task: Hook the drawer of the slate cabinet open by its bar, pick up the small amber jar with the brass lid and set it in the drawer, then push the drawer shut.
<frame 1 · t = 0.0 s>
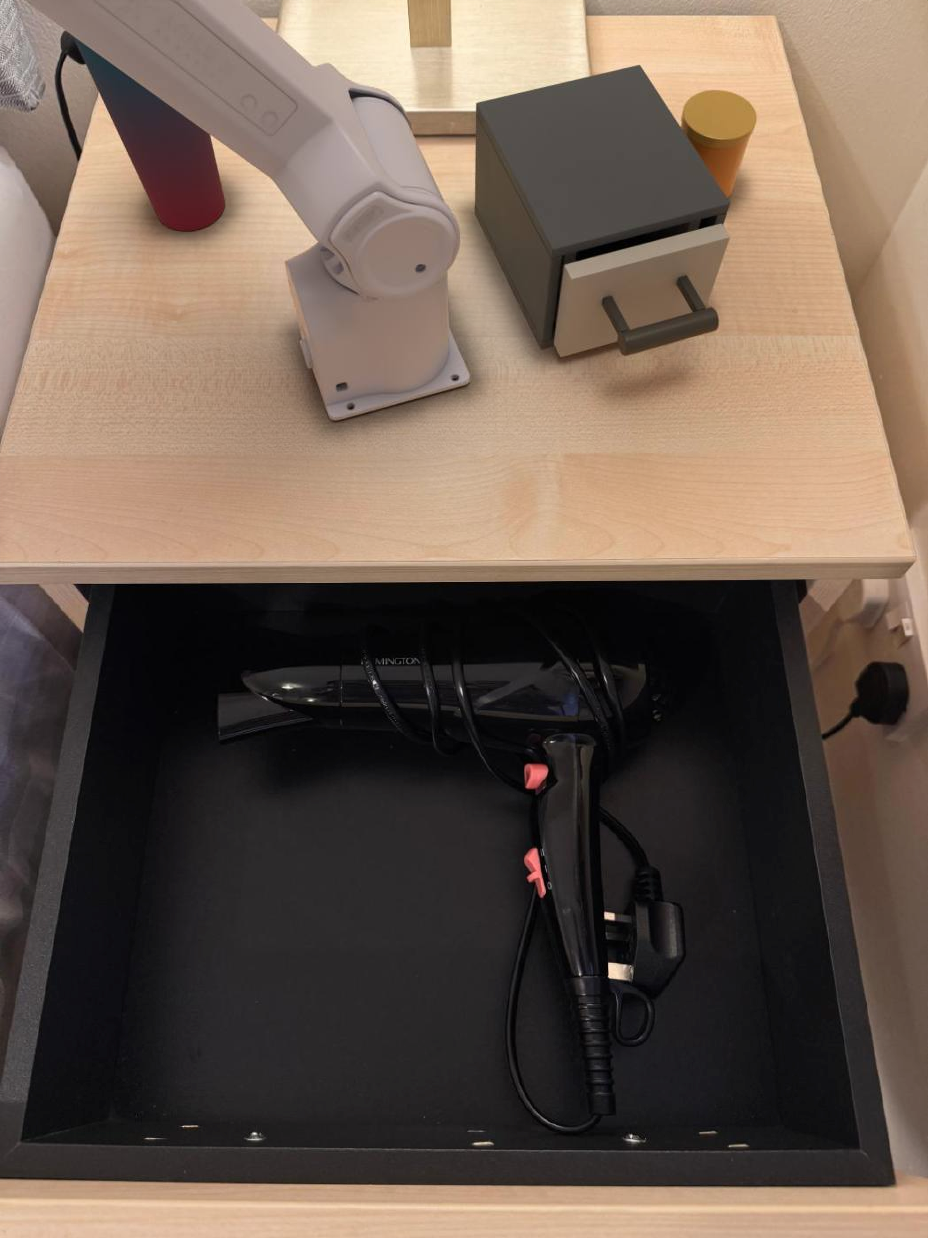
drawer: (615, 253, 56), point 4 cm above the nightstand, slide at 0.5 cm
cup: (191, 208, 64), on the nightstand
cabinet: (582, 257, 62), on the nightstand
jar: (700, 183, 65), on the nightstand
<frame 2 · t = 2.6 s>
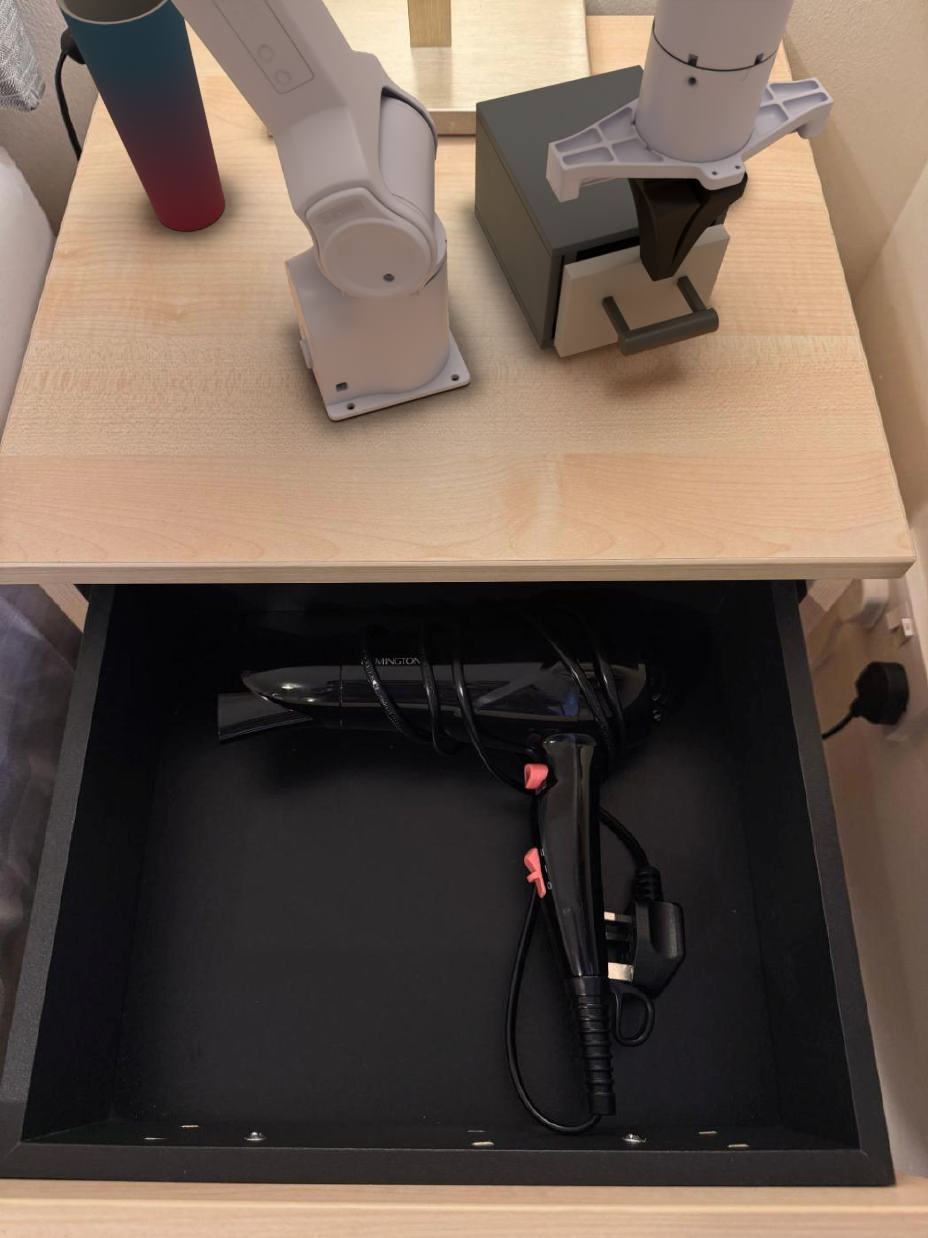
hand: (657, 266, 51), 7 cm above the nightstand, tool pointing down, fingers closed, pressing on drawer
drawer: (616, 253, 56), point 4 cm above the nightstand, slide at 0.5 cm, touching gripper
everything else where it was.
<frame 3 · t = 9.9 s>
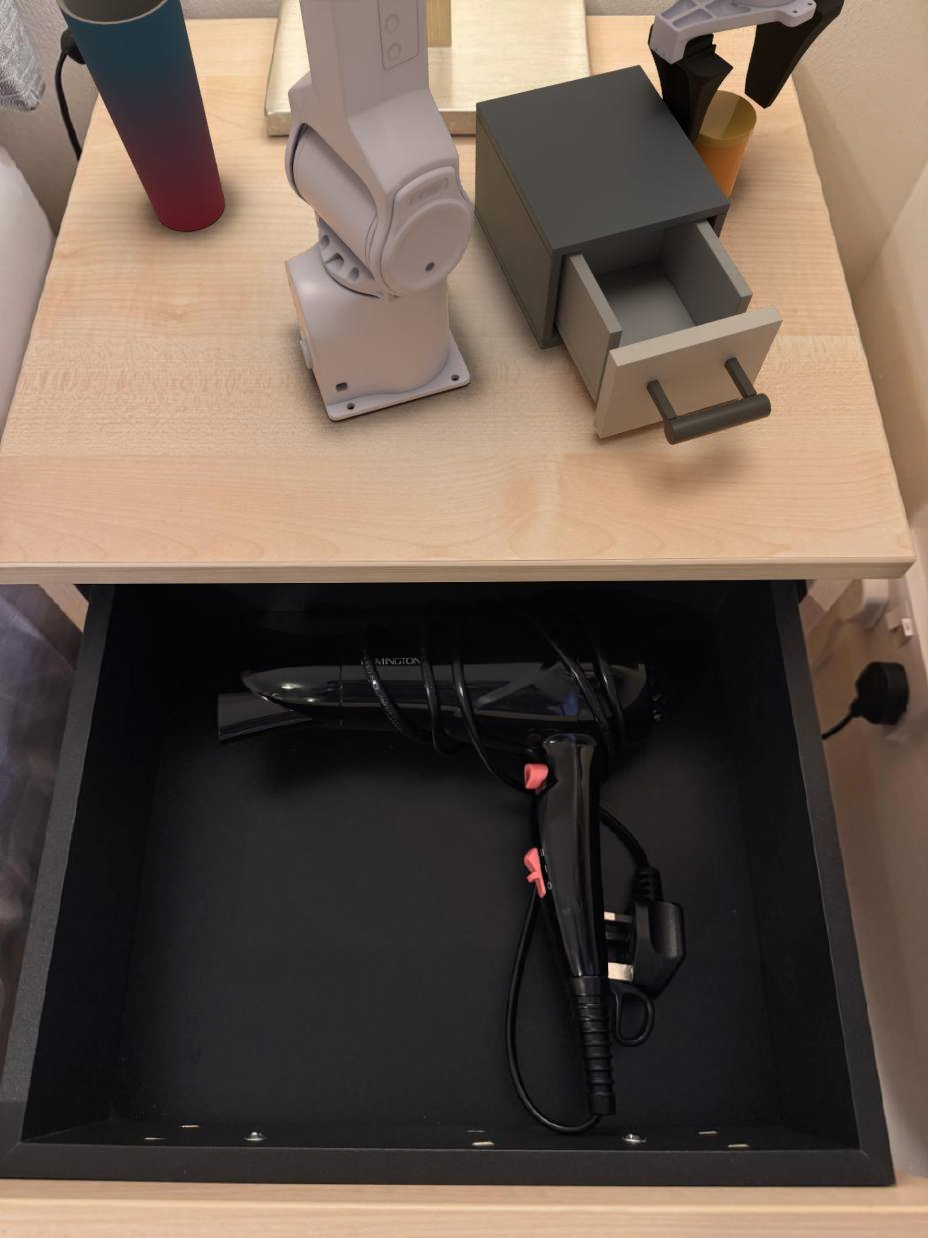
hand: (718, 121, 60), 5 cm above the nightstand, tool pointing down, fingers open, 7 cm apart
drawer: (659, 331, 54), point 4 cm above the nightstand, slide at 7.2 cm
everything else where it was.
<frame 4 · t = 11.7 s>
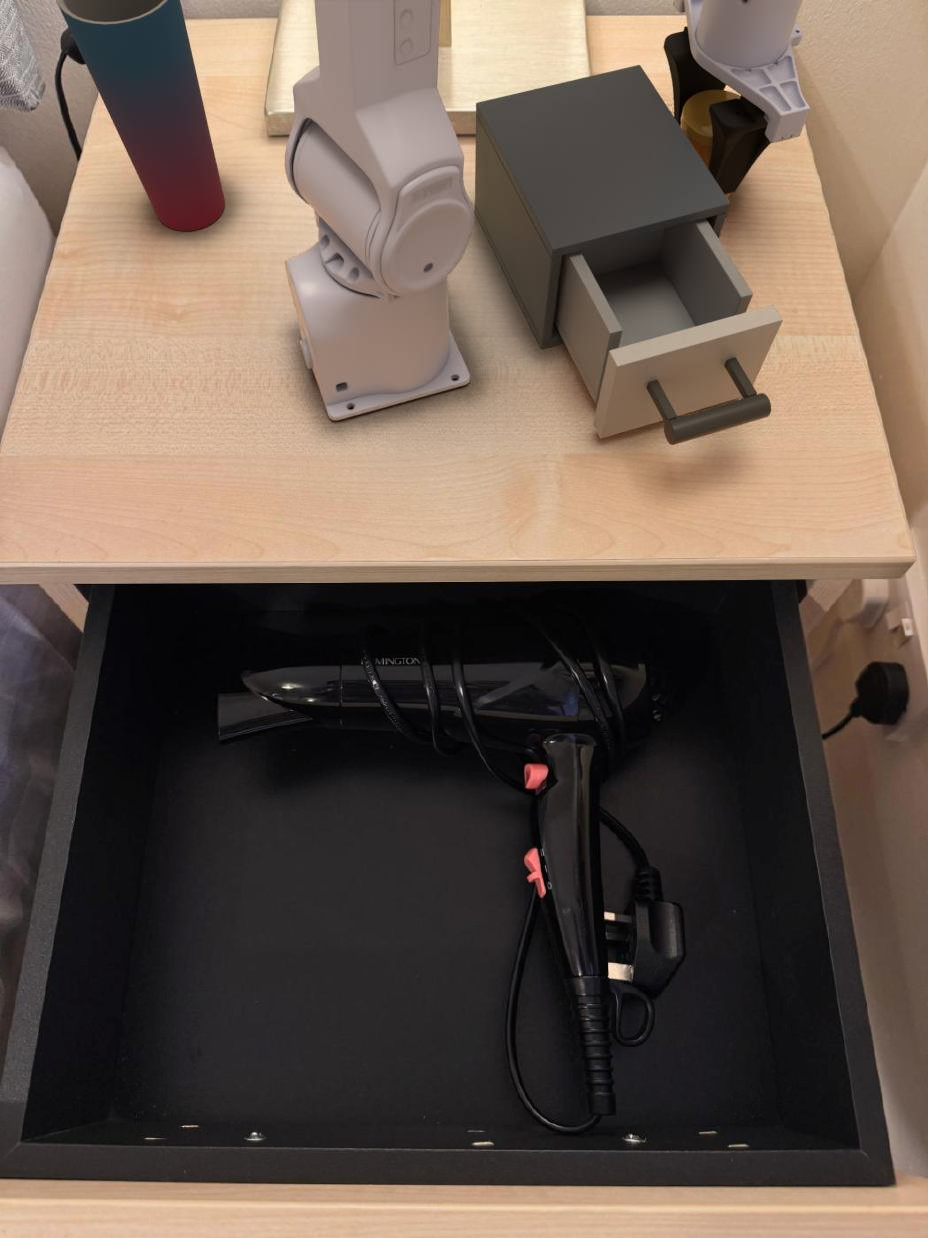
hand: (705, 166, 63), 1 cm above the nightstand, tool pointing down, fingers closed on jar, 5 cm apart
jar: (699, 183, 65), on the nightstand, touching gripper
everything else where it was.
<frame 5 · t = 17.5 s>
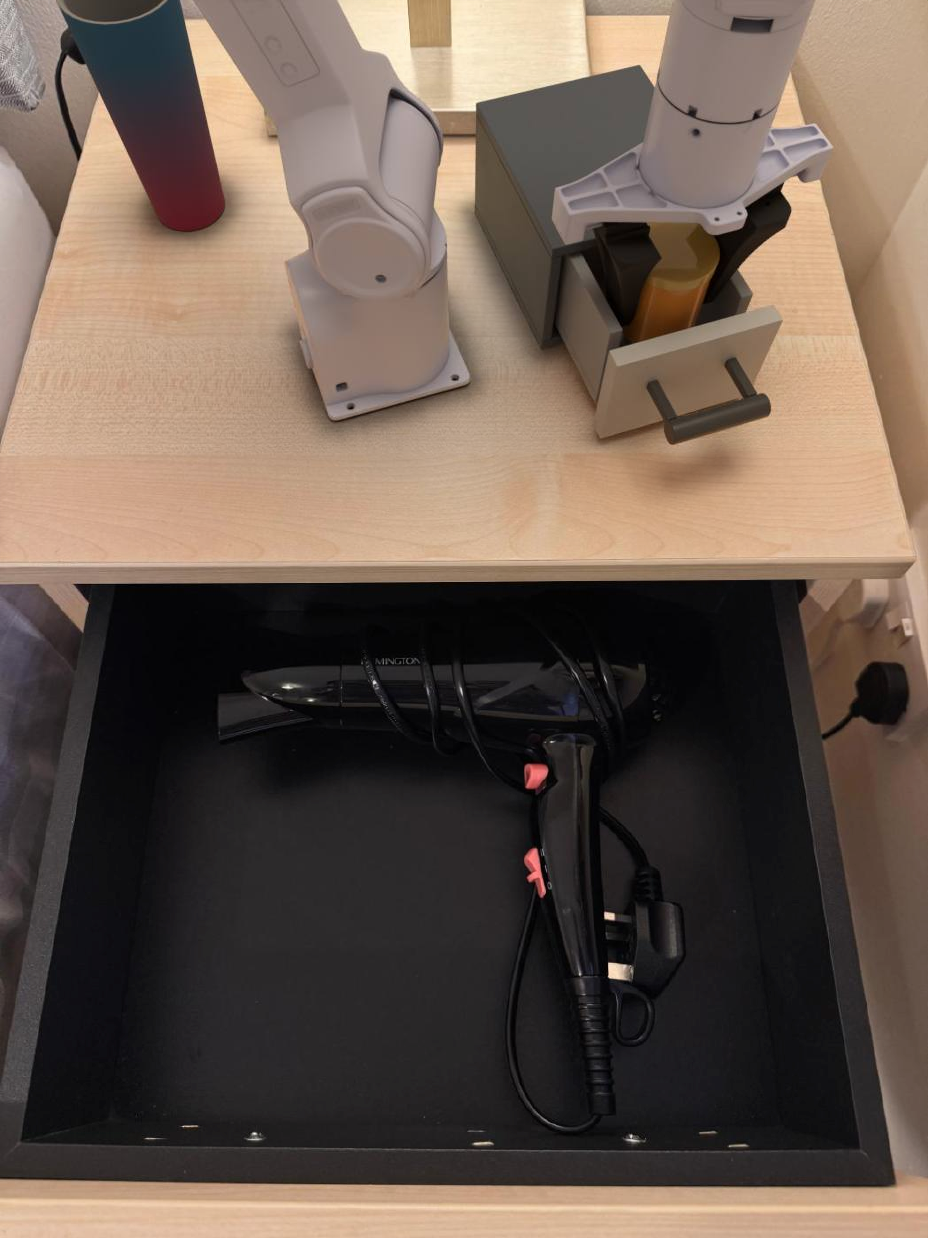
hand: (659, 302, 52), 6 cm above the nightstand, tool pointing down, fingers closed on jar, 5 cm apart
jar: (655, 319, 54), point 4 cm above the nightstand, touching gripper
everything else where it was.
when the fingers open (7 cm above the nightstand, at t = 22.0 s): jar stays where it is, resting on drawer.
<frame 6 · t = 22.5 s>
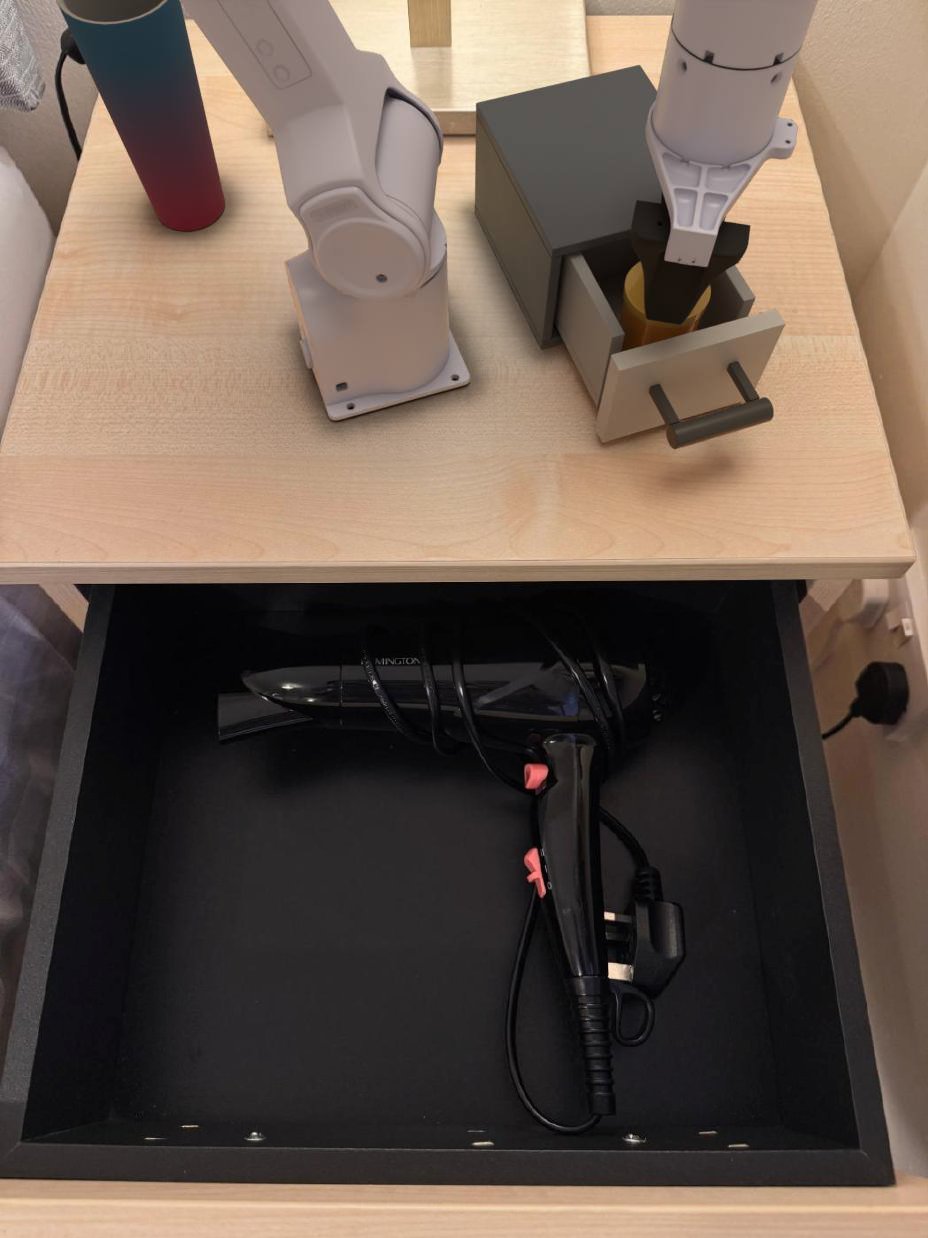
hand: (672, 271, 50), 8 cm above the nightstand, tool pointing down, fingers open, 6 cm apart
drawer: (661, 334, 53), point 4 cm above the nightstand, slide at 7.6 cm, touching jar
jar: (649, 352, 56), point 2 cm above the nightstand, touching drawer
everything else where it was.
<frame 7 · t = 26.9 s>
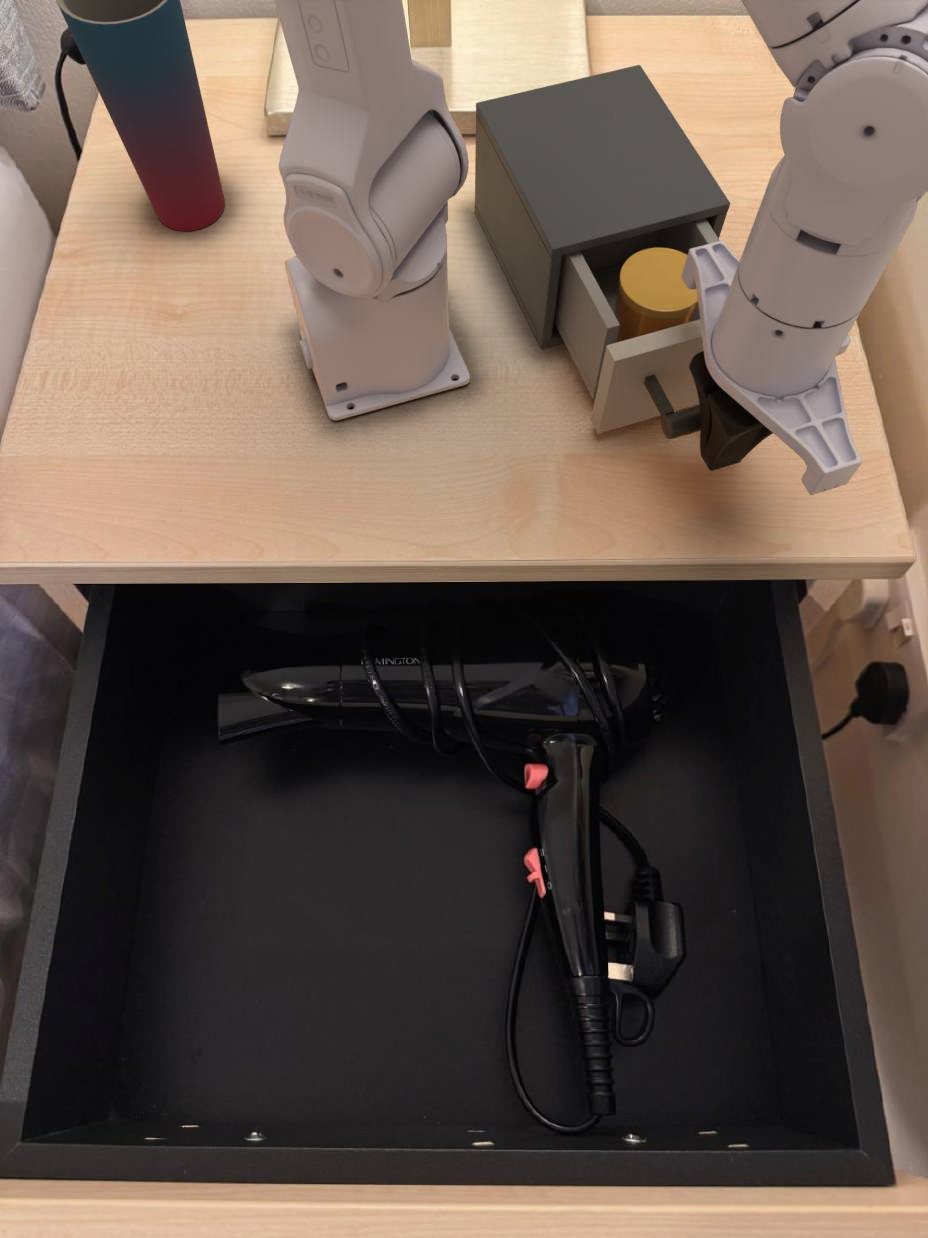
hand: (720, 457, 51), 3 cm above the nightstand, tool pointing down, fingers closed
drawer: (656, 326, 54), point 4 cm above the nightstand, slide at 6.9 cm, touching gripper, jar
everything else where it was.
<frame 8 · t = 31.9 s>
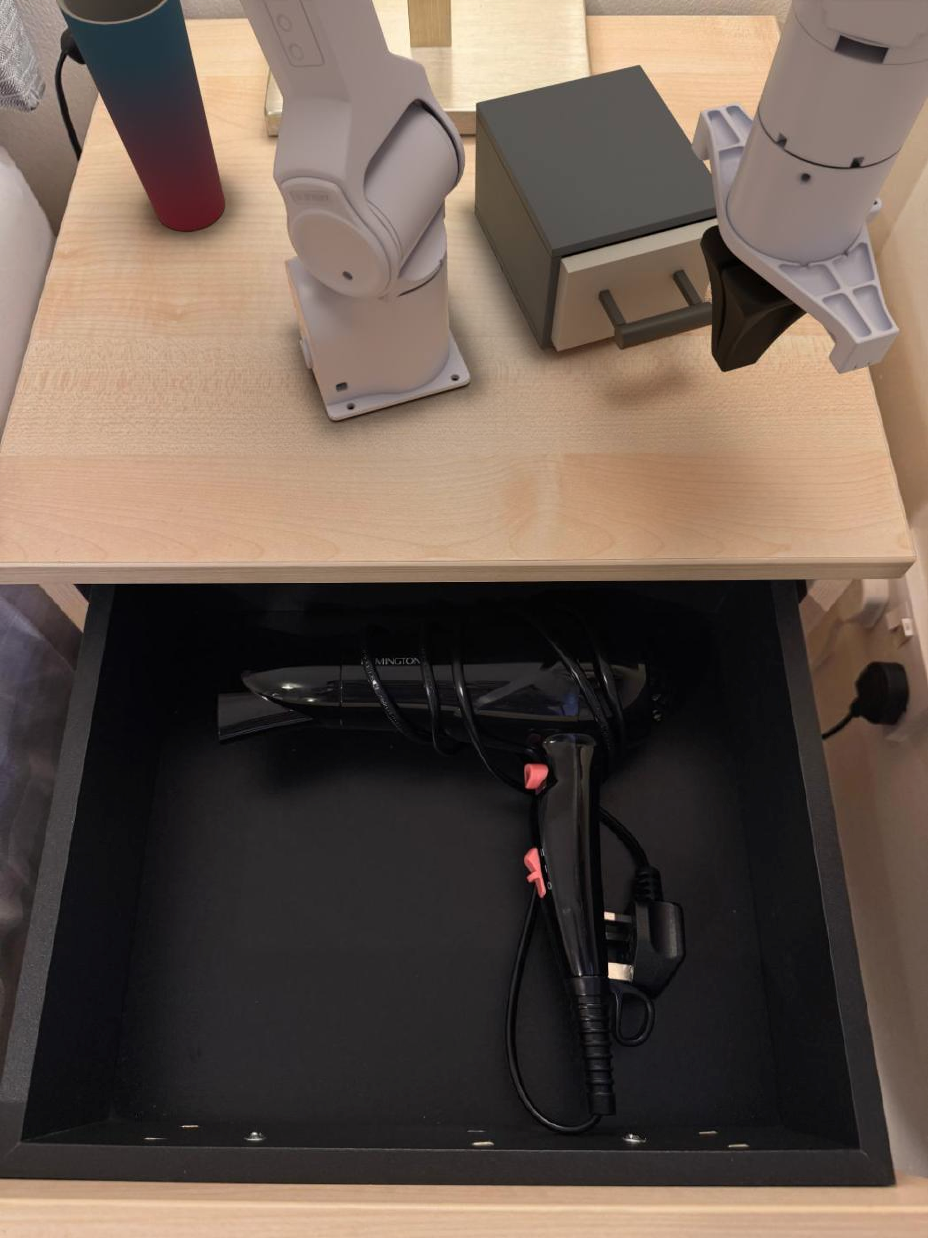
hand: (733, 358, 46), 9 cm above the nightstand, tool pointing down, fingers closed
drawer: (612, 248, 56), point 4 cm above the nightstand, slide at 0.0 cm, touching jar
jar: (603, 267, 59), point 2 cm above the nightstand, touching drawer
everything else where it was.
at the end: jar inside the target area in the cabinet (3.1 cm from its centre), point 1.9 cm above the cabinet's base; drawer slide at 0.0 cm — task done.
